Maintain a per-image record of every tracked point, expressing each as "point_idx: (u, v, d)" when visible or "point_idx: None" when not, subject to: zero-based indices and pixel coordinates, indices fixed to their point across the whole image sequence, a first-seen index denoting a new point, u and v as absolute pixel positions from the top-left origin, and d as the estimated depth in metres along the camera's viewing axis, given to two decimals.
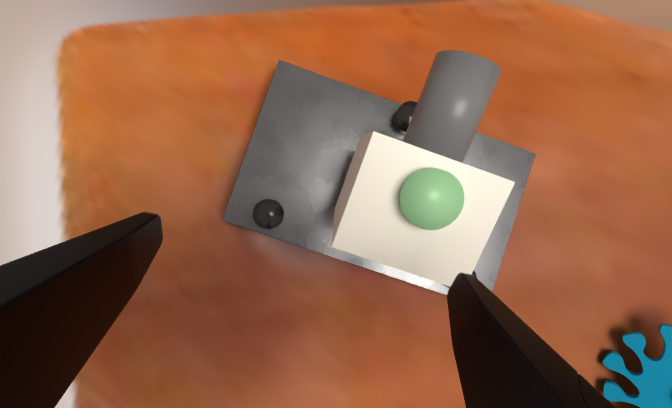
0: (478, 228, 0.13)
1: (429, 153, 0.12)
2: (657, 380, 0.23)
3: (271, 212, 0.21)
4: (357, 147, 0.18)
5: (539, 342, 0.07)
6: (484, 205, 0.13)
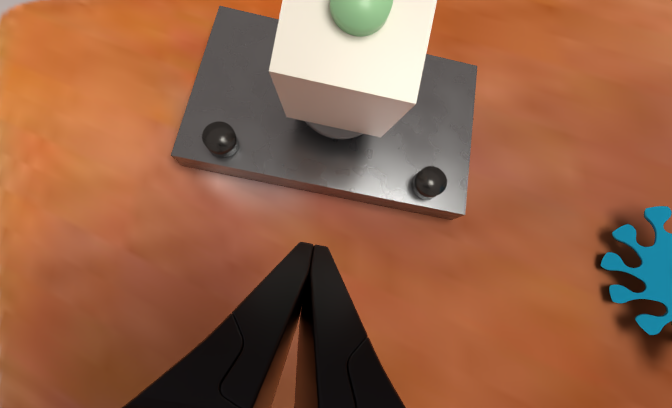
0: (416, 33, 0.13)
1: None
2: (658, 265, 0.21)
3: (222, 134, 0.20)
4: None
5: (346, 307, 0.07)
6: (416, 8, 0.13)
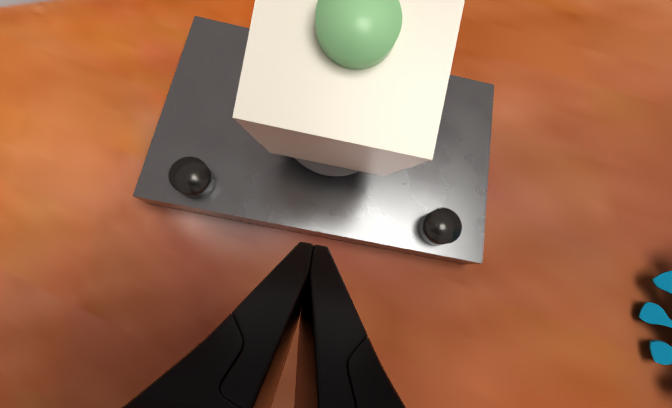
0: (432, 64, 0.09)
1: None
2: None
3: (192, 172, 0.16)
4: None
5: (346, 307, 0.07)
6: (433, 31, 0.09)
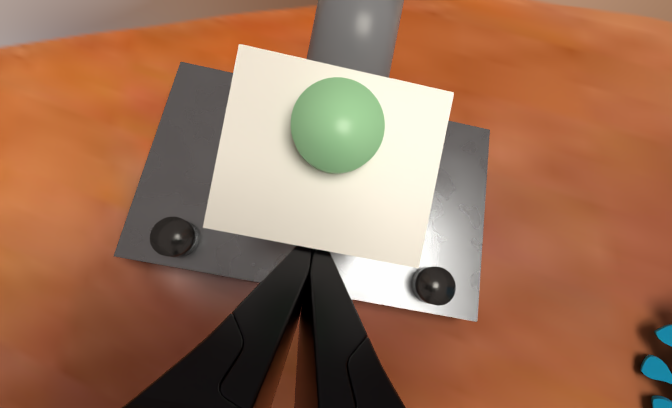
0: (418, 167, 0.09)
1: (325, 66, 0.08)
2: None
3: (175, 233, 0.16)
4: None
5: (346, 307, 0.07)
6: (419, 131, 0.09)
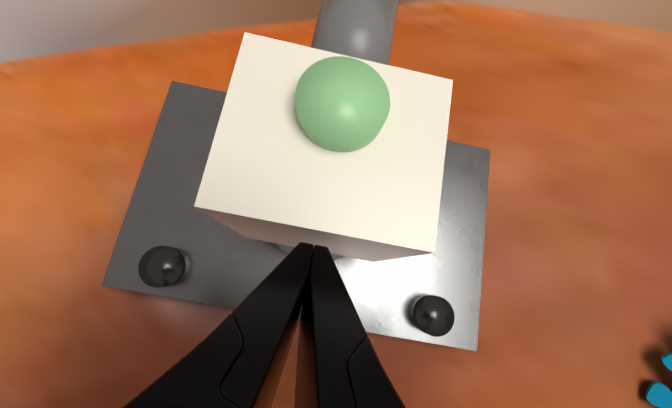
0: (425, 147, 0.08)
1: (328, 53, 0.09)
2: None
3: (164, 263, 0.15)
4: None
5: (346, 307, 0.07)
6: (423, 113, 0.09)
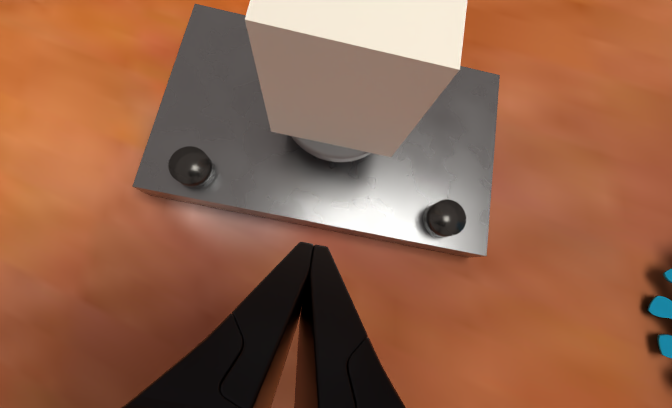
0: None
1: None
2: None
3: (193, 162, 0.16)
4: None
5: (346, 307, 0.07)
6: None
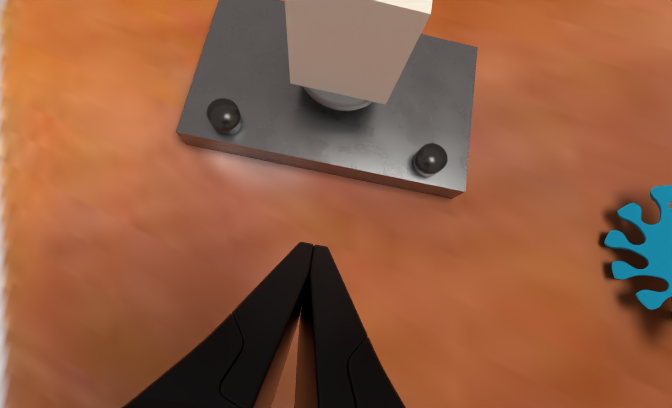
0: None
1: None
2: (662, 242, 0.22)
3: (226, 110, 0.20)
4: None
5: (346, 307, 0.07)
6: None
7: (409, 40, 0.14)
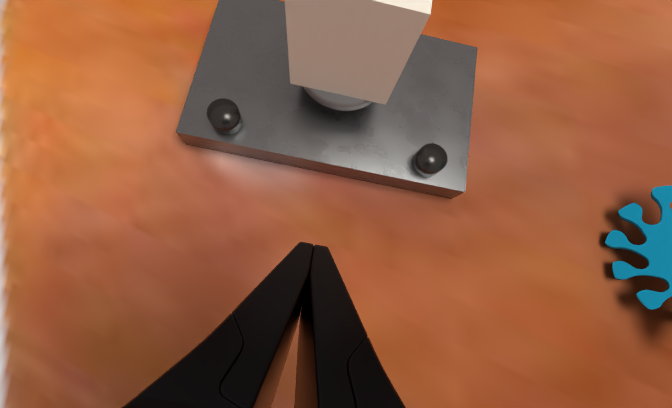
0: None
1: None
2: (662, 242, 0.22)
3: (226, 110, 0.20)
4: None
5: (346, 307, 0.07)
6: None
7: (409, 40, 0.14)
